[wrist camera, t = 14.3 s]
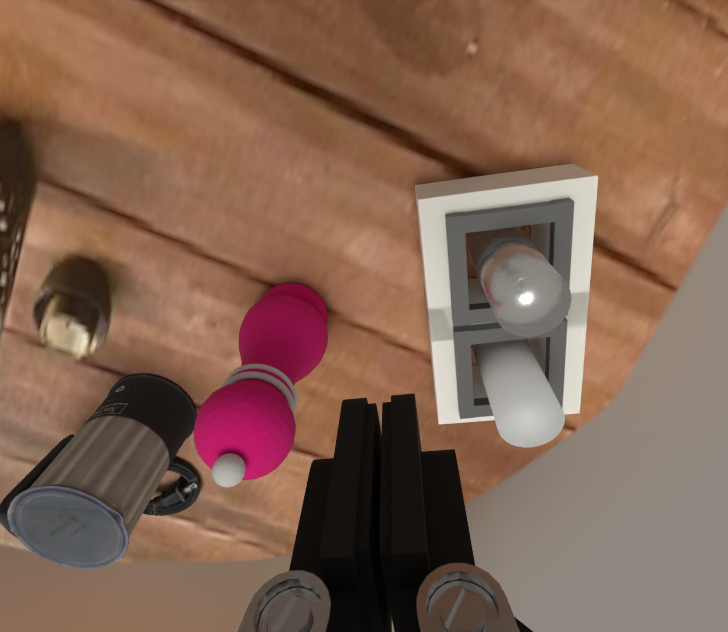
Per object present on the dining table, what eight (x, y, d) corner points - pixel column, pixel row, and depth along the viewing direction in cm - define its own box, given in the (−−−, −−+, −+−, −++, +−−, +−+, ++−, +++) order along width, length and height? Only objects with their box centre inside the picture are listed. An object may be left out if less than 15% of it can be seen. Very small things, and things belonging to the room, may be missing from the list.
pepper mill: (279, 261, 40) (190, 406, 22) (348, 305, 42) (317, 473, 24) (241, 321, 43) (135, 491, 25) (307, 360, 45) (251, 546, 27)
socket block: (414, 185, 36) (424, 228, 26) (571, 163, 35) (651, 199, 24) (434, 390, 45) (447, 486, 35) (560, 379, 44) (614, 475, 33)
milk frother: (150, 356, 45) (52, 469, 32) (259, 455, 51) (213, 588, 37) (64, 421, 50) (-53, 544, 37) (173, 506, 55) (105, 641, 42)
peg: (463, 219, 38) (493, 274, 27) (520, 211, 37) (573, 264, 26) (466, 270, 40) (494, 340, 29) (520, 264, 39) (569, 333, 28)
